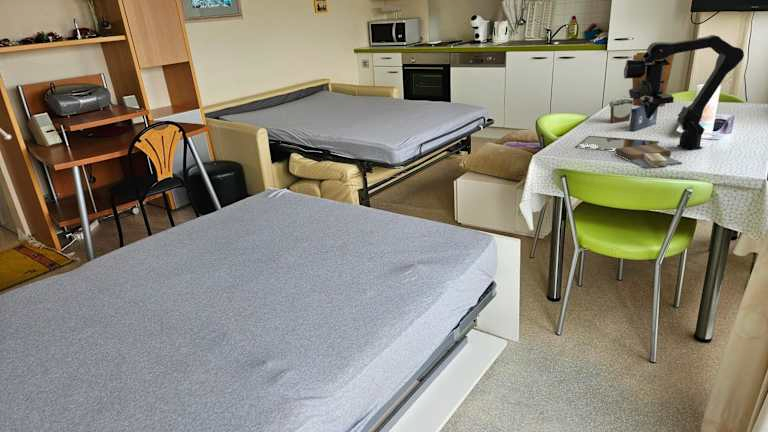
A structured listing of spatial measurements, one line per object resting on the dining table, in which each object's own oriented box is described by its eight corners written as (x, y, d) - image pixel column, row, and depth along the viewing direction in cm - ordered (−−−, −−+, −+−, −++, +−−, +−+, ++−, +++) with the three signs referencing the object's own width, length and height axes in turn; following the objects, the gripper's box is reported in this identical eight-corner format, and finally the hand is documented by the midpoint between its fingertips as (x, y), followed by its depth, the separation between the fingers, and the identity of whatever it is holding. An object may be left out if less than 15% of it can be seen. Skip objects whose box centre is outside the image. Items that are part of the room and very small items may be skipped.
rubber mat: (665, 157, 193) (665, 155, 193) (681, 164, 185) (681, 162, 184) (630, 161, 191) (630, 160, 191) (645, 168, 183) (645, 166, 183)
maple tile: (657, 158, 191) (658, 153, 190) (666, 165, 182) (667, 160, 182) (643, 158, 191) (644, 153, 191) (651, 165, 183) (652, 160, 182)
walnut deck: (653, 150, 202) (654, 144, 201) (670, 156, 193) (671, 150, 192) (615, 154, 200) (616, 148, 199) (630, 161, 191) (631, 155, 190)
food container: (622, 118, 254) (624, 98, 250) (631, 120, 249) (634, 99, 245) (601, 121, 251) (603, 101, 247) (610, 124, 245) (612, 103, 242)
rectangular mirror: (575, 148, 213) (649, 155, 198) (575, 146, 213) (650, 153, 197) (588, 137, 227) (658, 143, 212) (588, 135, 227) (659, 141, 211)
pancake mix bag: (666, 107, 269) (674, 51, 258) (627, 106, 279) (633, 52, 268) (668, 105, 274) (676, 50, 263) (629, 103, 284) (635, 50, 273)
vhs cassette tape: (650, 123, 241) (653, 102, 237) (657, 124, 239) (659, 102, 235) (627, 130, 232) (630, 108, 228) (634, 131, 230) (636, 109, 226)
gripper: (619, 76, 203) (615, 115, 209) (649, 82, 186) (643, 125, 192) (645, 73, 204) (641, 113, 210) (677, 79, 187) (671, 122, 193)
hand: (648, 118), depth 201 cm, fingers closed
